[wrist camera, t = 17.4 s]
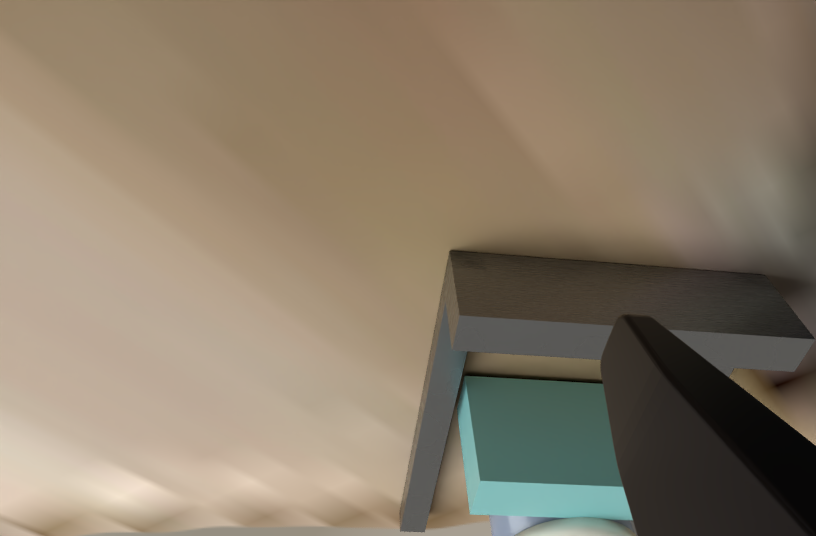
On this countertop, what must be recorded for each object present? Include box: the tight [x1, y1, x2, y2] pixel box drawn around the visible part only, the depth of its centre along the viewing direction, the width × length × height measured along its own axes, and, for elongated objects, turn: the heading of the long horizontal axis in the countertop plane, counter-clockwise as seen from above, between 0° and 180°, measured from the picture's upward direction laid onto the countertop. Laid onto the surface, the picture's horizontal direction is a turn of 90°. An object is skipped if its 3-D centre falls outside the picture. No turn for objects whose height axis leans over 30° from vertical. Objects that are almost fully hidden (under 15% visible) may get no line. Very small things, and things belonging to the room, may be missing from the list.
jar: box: [489, 515, 636, 536], centre depth 27 cm, size 6×6×5 cm
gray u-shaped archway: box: [400, 251, 815, 536], centre depth 27 cm, size 16×12×4 cm
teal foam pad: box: [457, 376, 633, 520], centre depth 26 cm, size 2×9×5 cm, turn 83°
